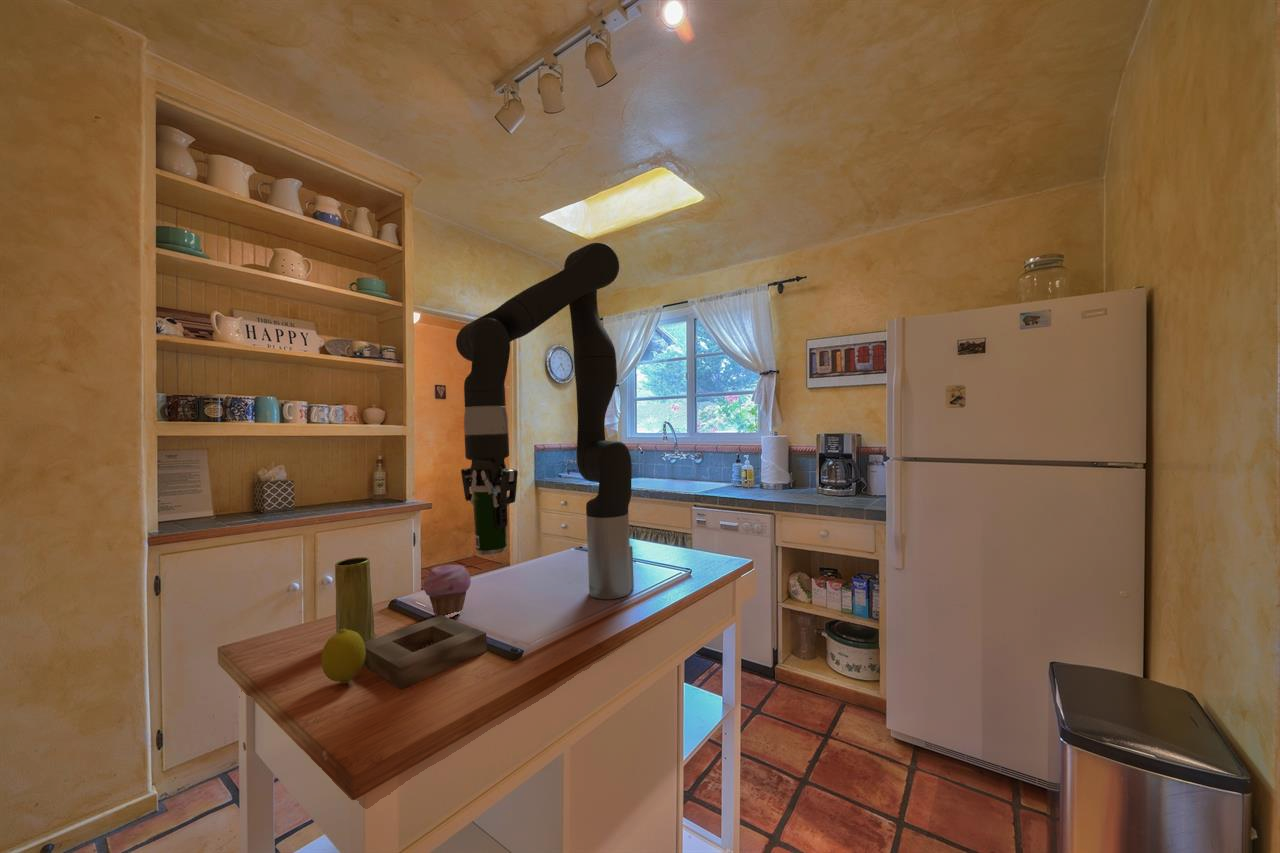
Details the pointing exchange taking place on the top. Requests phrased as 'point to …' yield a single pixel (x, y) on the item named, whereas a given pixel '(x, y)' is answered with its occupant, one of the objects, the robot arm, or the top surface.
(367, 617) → the vase
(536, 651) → the top surface
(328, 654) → the lemon
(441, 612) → the cupcake
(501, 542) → the beer can
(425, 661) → the can holder block
